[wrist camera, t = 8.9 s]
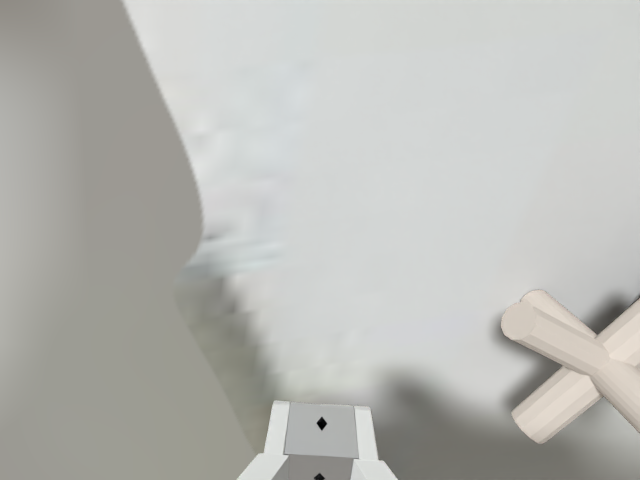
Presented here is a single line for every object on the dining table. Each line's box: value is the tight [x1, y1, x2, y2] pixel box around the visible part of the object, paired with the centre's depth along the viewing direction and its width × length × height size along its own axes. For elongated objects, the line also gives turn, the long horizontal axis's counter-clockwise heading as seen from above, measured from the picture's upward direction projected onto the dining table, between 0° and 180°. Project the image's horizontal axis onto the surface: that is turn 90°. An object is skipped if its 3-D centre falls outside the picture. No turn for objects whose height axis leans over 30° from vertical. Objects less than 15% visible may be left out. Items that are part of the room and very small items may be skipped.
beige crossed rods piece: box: [501, 290, 640, 444], centre depth 15 cm, size 10×10×10 cm
